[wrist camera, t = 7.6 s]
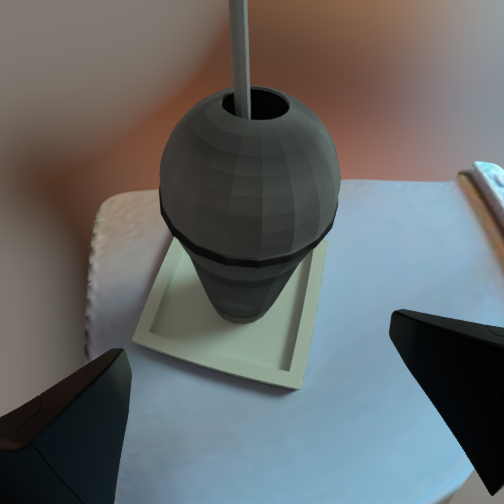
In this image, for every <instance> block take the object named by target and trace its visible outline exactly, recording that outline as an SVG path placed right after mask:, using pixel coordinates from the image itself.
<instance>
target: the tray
mask: <svg viewBox="0 0 504 504" xmlns="http://www.w3.org/2000/svg"><path fill="white" fill-rule="evenodd" d="M326 247H327V241H326V240H322V241H321V242H320V243H319V244H318V246H317V247H316V248H314V249H312V250H311V251H310V252H309V253H308V255H307V256H306V257H305V258H304V259H303V260H302V261H301V262H300V263H299V265H298V266H297V268H296V269H295V271H294V273H293V274H292V276H291V277H290V279H289V281H288V282H287V284H286V285H285V287H284V289H283V290H282V292H281V293H280V295H279V296H278V298H277V300H276V301H275V303H274V304H273V305H272V307H271V308H270V309H269V310H268V311H267V313H266V314H265V315H264V316H263V317H262V318H260V319H259V320H257V321H255V322H252V323H248V324H235V323H232V322H229V321H227V320H225V319H224V318H222V317H221V316H220V315H219V314H218V313H217V312H216V310H215V308H214V307H213V305H212V304H211V302H210V300H209V299H208V296H207V294H206V292H205V290H204V288H203V286H202V283H201V281H200V279H199V277H198V275H197V272H196V270H195V268H194V266H193V263H192V261H191V259H190V256H189V255H188V254H187V252H186V251H185V250H184V248H183V247H182V245H181V244H180V242H179V240H178V239H176V238H175V237H174V239H173V241H172V243H171V245H170V248H169V250H168V252H167V254H166V256H165V259H164V261H163V263H162V266H161V268H160V270H159V273H158V275H157V277H156V280H155V282H154V284H153V287H152V289H151V292H150V294H149V297H148V299H147V301H146V304H145V306H144V309H143V311H142V314H141V317H140V319H139V322H138V324H137V327H136V330H135V332H134V335H133V338H132V341H133V342H134V343H136V344H137V345H140V346H142V347H145V348H148V349H150V350H153V351H156V352H159V353H162V354H164V355H167V356H170V357H173V358H176V359H179V360H182V361H185V362H188V363H191V364H195V365H198V366H201V367H204V368H208V369H211V370H215V371H218V372H222V373H225V374H229V375H233V376H236V377H240V378H244V379H248V380H252V381H256V382H260V383H264V384H269V385H273V386H278V387H282V388H287V389H292V390H300V389H301V387H302V382H303V378H304V373H305V368H306V364H307V359H308V354H309V349H310V344H311V339H312V334H313V328H314V323H315V317H316V312H317V306H318V300H319V294H320V288H321V281H322V275H323V268H324V261H325V254H326Z"/></svg>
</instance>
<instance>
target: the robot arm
mask: <svg viewBox="0 0 504 504" xmlns="http://www.w3.org/2000/svg"><path fill="white" fill-rule="evenodd" d="M389 336H390V339H391V340H392V342H393V344H394V346H395V347H396V349H397V351H398V352H399V354H400V356H401V358H402V359H403V361H404V363H405V365H406V366H407V368H408V369H409V371H410V372H411V374H412V375H413V376H414V378H415V379H416V381H417V382H418V383H419V385H420V386H421V388H422V389H423V391H424V392H425V393H426V395H427V396H428V398H429V399H430V401H431V402H432V403H433V405H434V406H435V408H436V409H437V411H438V412H439V414H440V415H441V417H442V418H443V420H444V421H445V423H446V424H447V426H448V427H449V429H450V430H451V432H452V433H453V435H454V436H455V438H456V439H457V441H458V442H459V444H460V445H461V447H462V449H463V450H464V452H466V455H467V457H468V458H469V460H470V462H471V463H472V465H473V466H474V468H475V470H476V471H477V473H478V474H479V476H480V478H481V480H482V481H483V483H484V485H485V486H486V488H487V490H488V492H489V493H490V494H491V496H494V495H495V494H496V493H497V492H498V491H499V490H500V489H502V488H503V487H504V328H502V327H496V326H490V325H484V324H479V323H473V322H468V321H463V320H457V319H452V318H447V317H441V316H436V315H431V314H426V313H421V312H416V311H411V310H406V309H400V310H396V311H394V312H393V313H392V315H391V322H390V329H389ZM131 380H132V372H131V368H130V365H129V362H128V358H127V355H126V352H125V350H124V349H122V348H113V349H110V350H109V351H107V352H106V353H104V354H102V355H101V356H99V357H98V358H96V359H95V360H93V361H91V362H90V363H88V364H87V365H85V366H84V367H82V368H81V369H79V370H77V371H76V372H74V373H73V374H71V375H70V376H68V377H67V378H65V379H63V380H62V381H60V382H59V383H57V384H56V385H54V386H52V387H51V388H49V389H48V390H46V391H45V392H43V393H41V394H40V396H39V395H38V396H37V397H35V398H33V399H32V400H31V401H29V402H27V403H25V404H24V405H22V406H21V407H19V408H17V409H15V410H13V411H11V412H10V413H8V414H6V415H4V416H2V417H0V504H114V500H115V492H116V485H117V478H118V471H119V464H120V458H121V452H122V446H123V441H124V435H125V430H126V425H127V420H128V414H129V402H130V390H131Z"/></svg>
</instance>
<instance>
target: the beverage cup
mask: <svg viewBox="0 0 504 504" xmlns="http://www.w3.org/2000/svg"><path fill="white" fill-rule="evenodd" d="M229 19H230V37H231V54H232V71H233V88H229V89H225V90H222V91H219V92H216V93H214V94H212V95H210V96H209V97H206V98H204V99H203V100H201V101H200V102H198V103H197V104H196V105H194V106H193V107H192V108H191V109H190V110H189V111H188V112H187V113H186V114H185V115H184V116H183V117H182V118H181V120H180V121H179V122H178V123H177V124H176V126H175V128H174V130H173V131H172V133H171V135H170V137H169V140H168V142H167V144H166V147H165V149H164V152H163V155H162V159H161V163H160V187H159V198H160V211H161V215H162V217H163V219H164V221H165V222H166V224H167V226H168V228H169V230H170V232H171V233H172V235H173V236H174V237H175V238H176V239H178V240H179V242H180V244H181V245H182V247H183V248H184V250H185V251H186V252H187V254H188V255H189V256H190V259H191V261H192V263H193V266H194V268H195V270H196V272H197V275H198V277H199V279H200V281H201V283H202V286H203V288H204V290H205V292H206V294H207V296H208V299H209V300H210V302H211V304H212V305H213V307H214V308H215V310H216V312H217V313H218V314H219V315H220V316H221V317H222V318H224V319H225V320H227V321H229V322H232V323H235V324H248V323H252V322H255V321H257V320H259V319H260V318H262V317H263V316H264V315H265V314H266V313H267V311H268V310H269V309H270V308H271V307H272V305H273V304H274V303H275V301H276V300H277V298H278V296H279V295H280V293H281V292H282V290H283V289H284V287H285V285H286V284H287V282H288V281H289V279H290V277H291V276H292V274H293V273H294V271H295V269H296V268H297V266H298V265H299V263H300V262H301V261H302V260H303V259H304V258H305V257H306V256H307V255H308V253H309V252H310V251H311V250H312V249H314V248H316V247H317V246H318V244H319V243H320V242H321V241H322V240H323V238H324V237H325V236H326V235H327V233H328V232H329V231H330V230H331V228H332V226H333V222H334V219H335V215H336V211H337V208H338V194H339V190H340V181H341V176H340V168H339V162H338V157H337V152H336V148H335V145H334V142H333V140H332V137H331V136H330V134H329V132H328V131H327V129H326V127H325V126H324V125H323V123H322V122H321V121H320V119H319V118H318V116H317V115H316V114H315V113H314V112H313V111H312V110H311V109H310V108H309V107H307V106H306V105H305V104H303V103H302V102H301V101H299V100H298V99H297V98H295V97H292V96H290V95H289V94H286V93H284V92H282V91H280V90H277V89H272V88H268V87H263V86H250V76H249V47H248V17H247V0H229Z"/></svg>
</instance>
